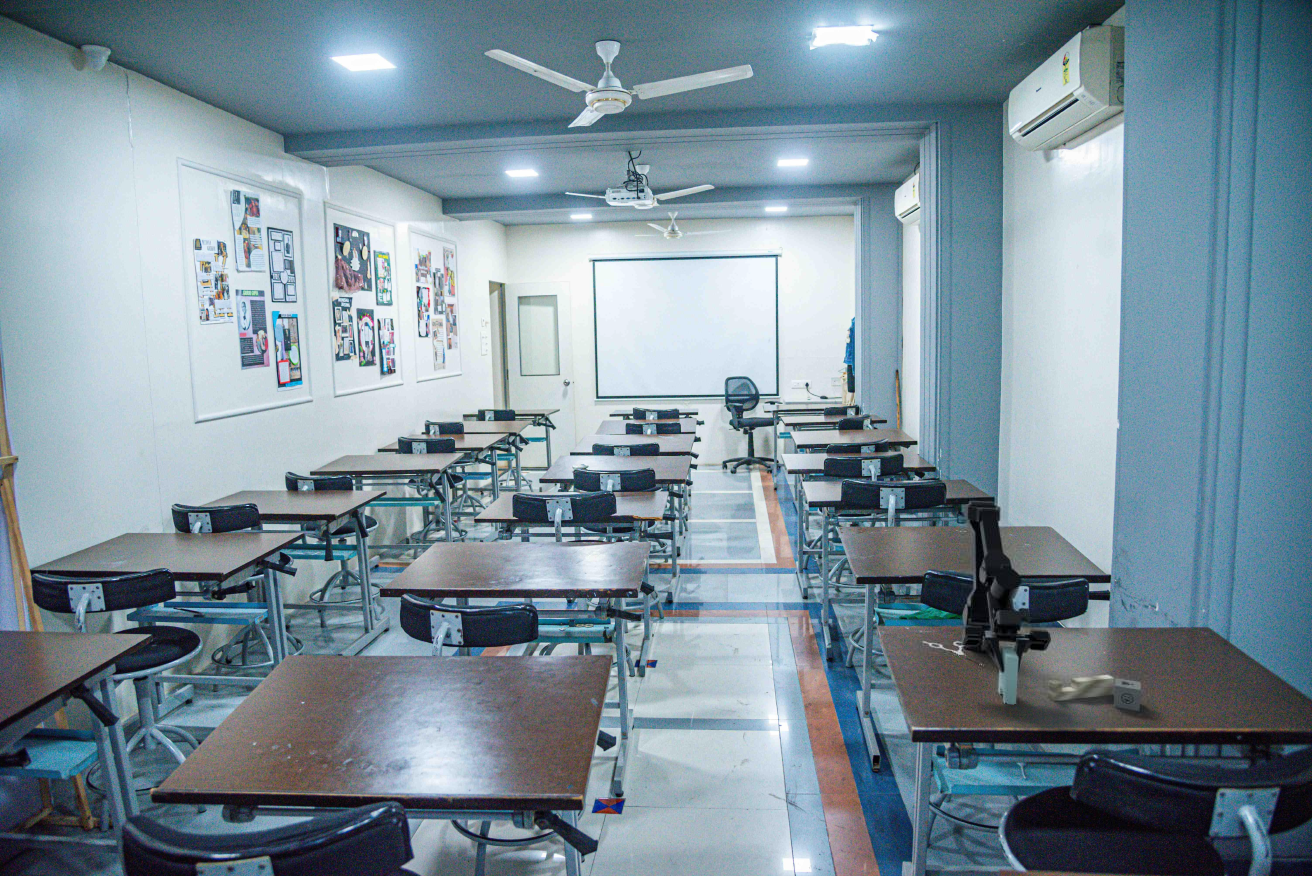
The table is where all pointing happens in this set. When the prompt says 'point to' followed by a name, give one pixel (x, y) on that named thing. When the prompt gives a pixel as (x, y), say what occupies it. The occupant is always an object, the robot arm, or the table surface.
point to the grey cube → (1127, 694)
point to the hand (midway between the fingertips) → (1009, 672)
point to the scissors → (947, 649)
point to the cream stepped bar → (1081, 688)
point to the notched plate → (1008, 675)
